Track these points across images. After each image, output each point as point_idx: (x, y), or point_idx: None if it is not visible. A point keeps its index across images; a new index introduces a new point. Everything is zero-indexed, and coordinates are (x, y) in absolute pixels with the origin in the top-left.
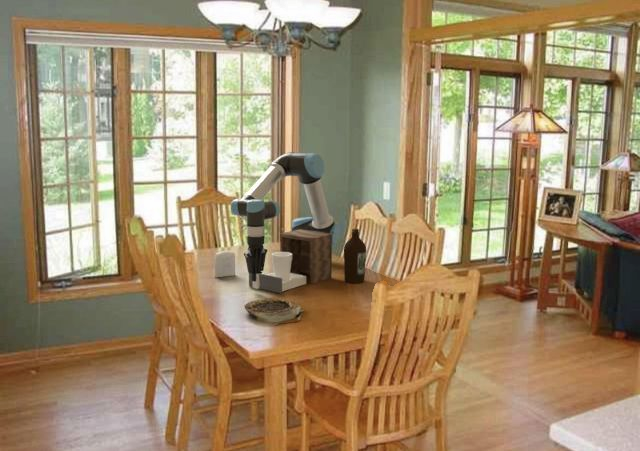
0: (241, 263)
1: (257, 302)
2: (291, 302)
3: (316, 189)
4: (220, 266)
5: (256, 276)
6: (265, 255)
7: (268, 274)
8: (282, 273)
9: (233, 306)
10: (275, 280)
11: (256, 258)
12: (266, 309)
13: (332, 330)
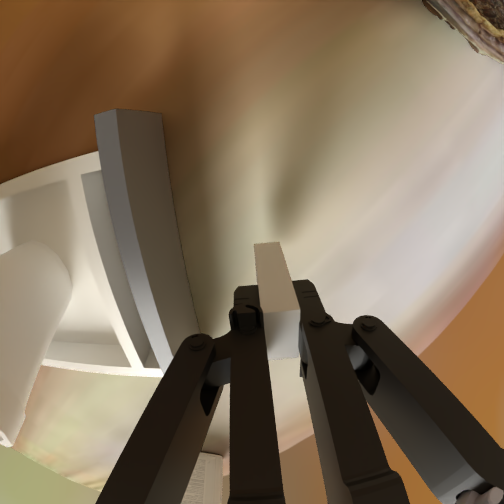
0: (93, 460)
1: (495, 29)
2: None
3: None
4: (211, 484)
5: (296, 301)
6: (105, 500)
7: (74, 364)
8: (16, 276)
9: (492, 161)
10: (136, 176)
11: (380, 485)
12: None
13: None
